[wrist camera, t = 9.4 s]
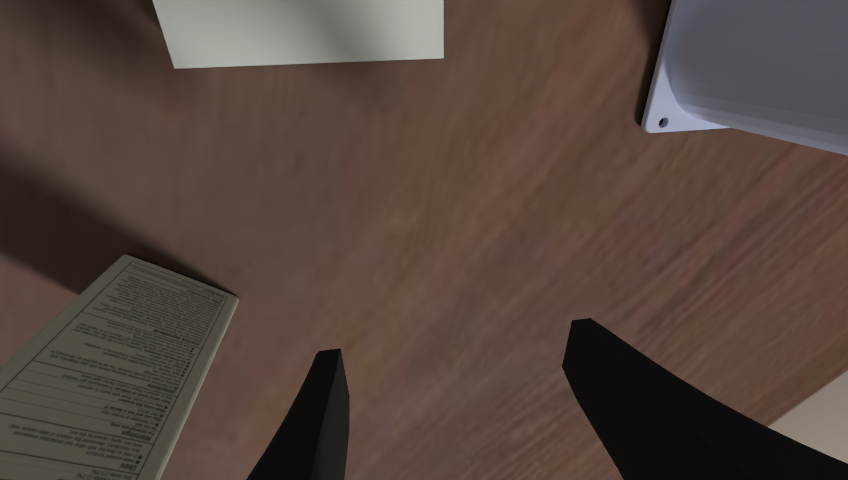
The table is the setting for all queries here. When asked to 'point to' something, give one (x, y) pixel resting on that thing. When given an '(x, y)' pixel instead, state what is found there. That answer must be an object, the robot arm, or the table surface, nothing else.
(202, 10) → the socket block
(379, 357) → the table surface
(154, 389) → the skincare box
